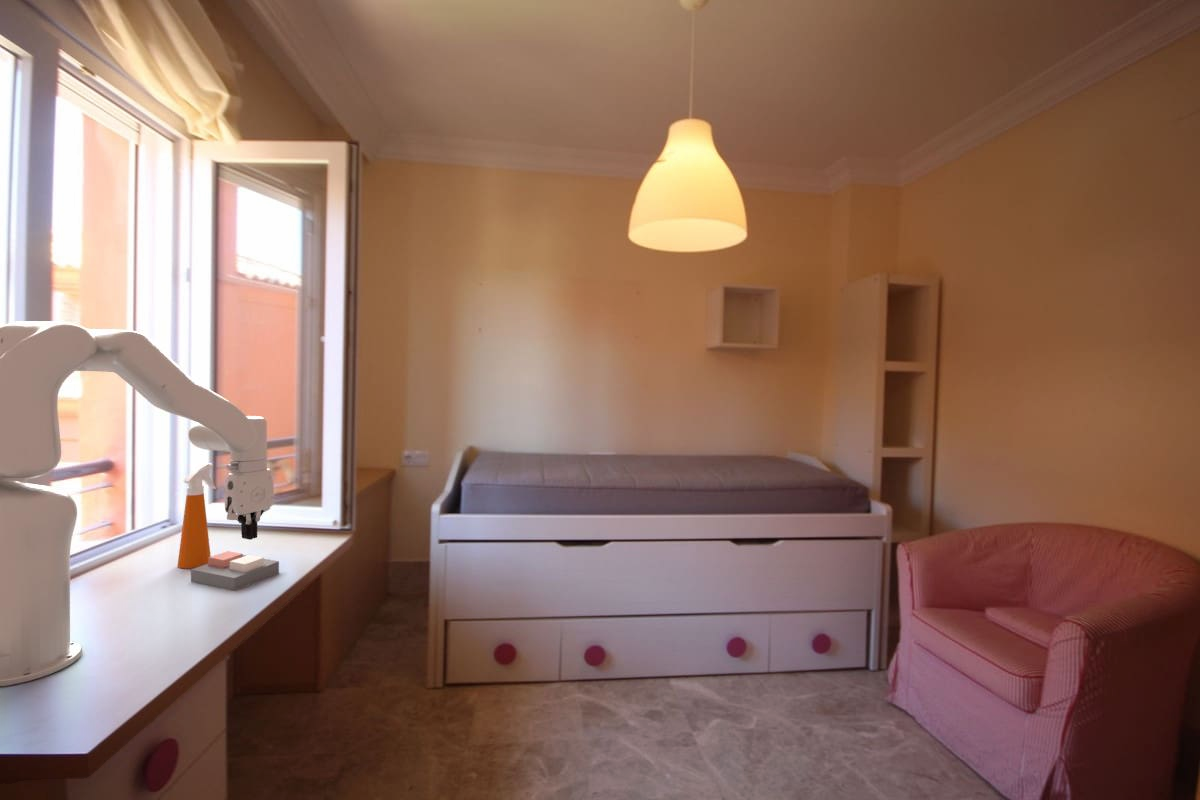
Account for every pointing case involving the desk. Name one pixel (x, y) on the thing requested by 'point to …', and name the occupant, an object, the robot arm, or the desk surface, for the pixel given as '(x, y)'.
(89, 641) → the desk surface
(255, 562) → the white key
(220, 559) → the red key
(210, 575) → the key panel
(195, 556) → the spray bottle
